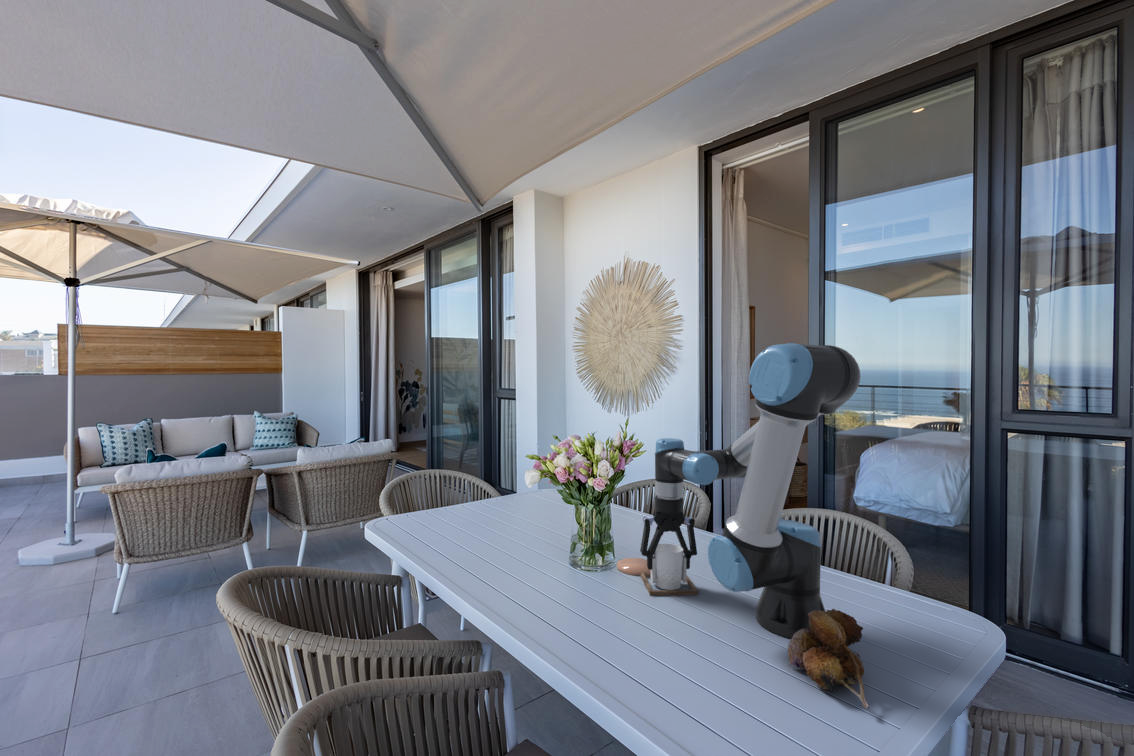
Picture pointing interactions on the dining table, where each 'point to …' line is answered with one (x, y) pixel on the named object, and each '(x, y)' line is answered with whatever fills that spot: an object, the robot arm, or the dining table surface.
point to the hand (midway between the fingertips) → (668, 580)
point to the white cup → (668, 566)
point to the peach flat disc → (633, 566)
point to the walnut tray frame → (669, 592)
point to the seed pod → (829, 650)
